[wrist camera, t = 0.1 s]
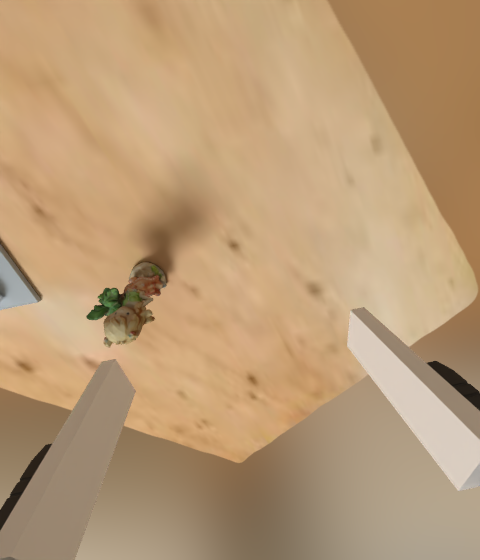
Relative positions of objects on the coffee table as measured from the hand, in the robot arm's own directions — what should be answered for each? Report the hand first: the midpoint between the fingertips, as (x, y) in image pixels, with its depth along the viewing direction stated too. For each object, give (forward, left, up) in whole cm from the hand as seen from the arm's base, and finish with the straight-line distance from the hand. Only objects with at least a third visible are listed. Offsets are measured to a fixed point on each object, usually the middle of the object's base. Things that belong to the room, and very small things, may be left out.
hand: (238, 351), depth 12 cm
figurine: (+6, -16, -28) cm, 33 cm away
